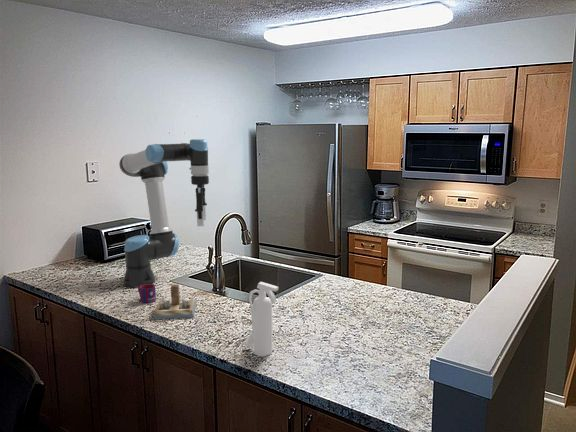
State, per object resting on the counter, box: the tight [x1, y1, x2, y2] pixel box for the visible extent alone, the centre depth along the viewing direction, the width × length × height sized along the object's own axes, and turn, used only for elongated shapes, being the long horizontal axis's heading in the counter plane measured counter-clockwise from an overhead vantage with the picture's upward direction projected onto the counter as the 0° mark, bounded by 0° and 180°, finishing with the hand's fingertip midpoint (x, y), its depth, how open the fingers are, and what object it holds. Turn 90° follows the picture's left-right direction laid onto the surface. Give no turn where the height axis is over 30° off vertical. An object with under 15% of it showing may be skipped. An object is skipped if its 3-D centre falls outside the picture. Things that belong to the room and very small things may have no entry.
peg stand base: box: [154, 283, 196, 316], centre depth 192 cm, size 15×11×10 cm
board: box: [153, 297, 198, 320], centre depth 195 cm, size 16×16×5 cm
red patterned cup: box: [137, 283, 157, 305], centre depth 207 cm, size 7×10×7 cm
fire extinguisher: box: [245, 281, 279, 357], centre depth 157 cm, size 7×12×25 cm, turn 61°
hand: (201, 223), depth 204 cm, fingers open, 13 cm apart
